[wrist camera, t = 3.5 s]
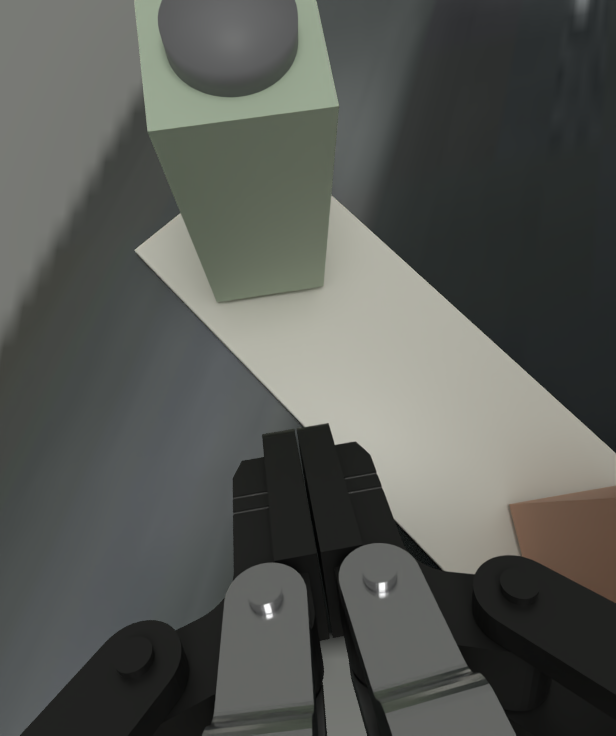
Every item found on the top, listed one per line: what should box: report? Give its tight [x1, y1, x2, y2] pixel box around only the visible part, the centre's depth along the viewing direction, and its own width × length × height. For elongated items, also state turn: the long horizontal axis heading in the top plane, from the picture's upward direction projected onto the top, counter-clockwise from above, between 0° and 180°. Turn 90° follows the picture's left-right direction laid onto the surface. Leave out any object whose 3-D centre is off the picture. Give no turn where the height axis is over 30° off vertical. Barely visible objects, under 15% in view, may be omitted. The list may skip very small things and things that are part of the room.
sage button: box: [134, 0, 339, 302], centre depth 20 cm, size 5×5×12 cm
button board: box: [135, 195, 616, 574], centre depth 25 cm, size 28×9×1 cm, turn 44°
